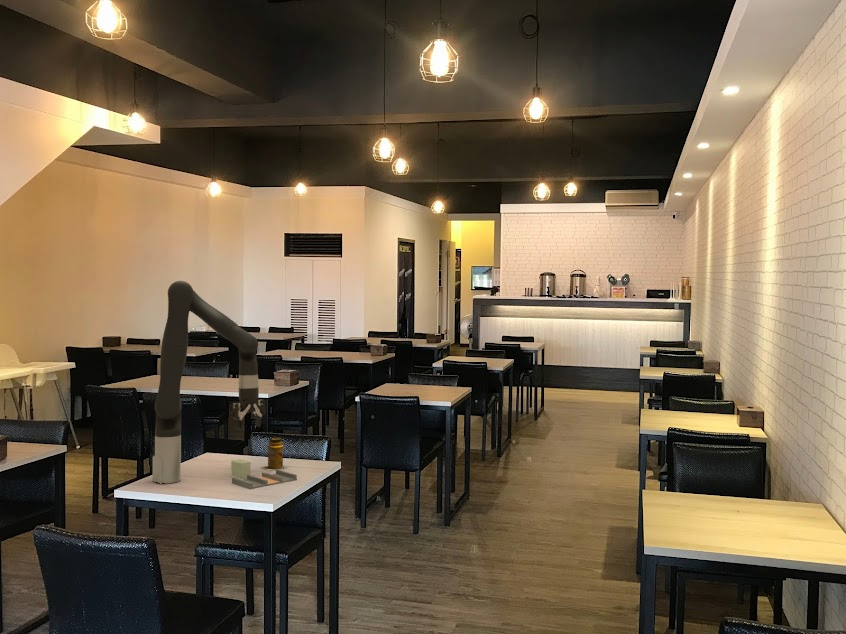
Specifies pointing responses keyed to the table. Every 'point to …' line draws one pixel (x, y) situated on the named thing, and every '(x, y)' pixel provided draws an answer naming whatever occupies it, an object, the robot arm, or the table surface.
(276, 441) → the condiment
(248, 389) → the robot arm
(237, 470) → the plug
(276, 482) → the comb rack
